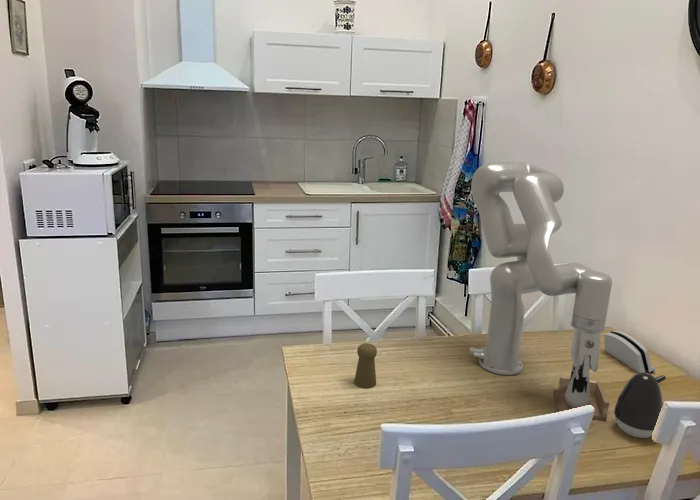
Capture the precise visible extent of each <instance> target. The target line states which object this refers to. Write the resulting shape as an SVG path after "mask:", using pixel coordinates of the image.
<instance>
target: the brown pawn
mask: <svg viewBox="0 0 700 500" xmlns="http://www.w3.org/2000/svg"><path fill="white" fill-rule="evenodd" d="M377 350H378V349H377V347H376V346H375V345H374V344H372V343H367V342H366V343H365V342H364V343H362V344H360V345H359V346H358V347H357V350H356V352H357V356H358V359H357V361H358V362H357V366H356V371H355V375H354V381H353V385H355V386H356V387H358V388H360V389H363V390H364V389H365V390H366V389H373V388H375V387H376V386H377V375H376V363H375V358H376V357H377V355H378V354H377V353H378V351H377Z"/></svg>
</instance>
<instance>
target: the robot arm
mask: <svg viewBox="0 0 700 500" xmlns="http://www.w3.org/2000/svg"><path fill="white" fill-rule="evenodd" d="M471 179H472V180H471V185H470V186H471V188H470V189H471V196H472V199H473V202H474V204H475V206H476V209H477V211H478V214H479V218H480V221H481V227H482V231H483V234H484V238H485V242H486V246H487V249H488V252H489V254H490V255H491V256H492V257H493V258H496V259H508V258H516V259H517V260H513V261H507V262H503V263H500V264H497V265H496V266H495V267H494V268H493V269H492V270H491V273H490V277H489V280H490V281H489V283H490V306H489V307H490V308H489V309H490V310H489V316H488V317H489V319H488V327H487V336H486V342H485V343H486V344H484V346H483V347H480V348H476V347H472V346H470V347H469V354H470V355H473V358H478V364H479V366H480V367H481V368H482V369H484V370H486V371H487V372H490V373H493V374H497V375H502V376H513V375H518V374H520V373H521V372H522V371H523V370H524V365H523V363H522V361H521V360H520V359H519V357H520V349H521V343H522V341H521V340H522V335H523V327H524V321H525V311H526V310H525V306H524V303H523V300H522V295H525V294H530V293H531V294H532V293H536V292H541V293H543V294H544V295H545V296H548V297H549V296H550V297H557V296H563V295H567V294H569V295H571V294H575V297H574V304H573V310H572V314H571V315H572V316H571V322H570V325H571V327H572V328H573V333H572V340H571V345H570V356H571V360H572V367H571V369H572V370H571V372H570V377H569V378H570V380H571V378H572V375H573V373H574V370H575V368H576V376H575V378H574V380H573V386H572V393H574V391H575V389H576V390H577V392H580V393H582V392H583V391H584V387H585V393H586V389H587V383H588V377H589V378H590V370H591V371H593V372H595V373H596V372H597V371H598V368H599V367H598V366H599V359H600V358H599V357H600V348H601V334H602V333H604V331H605V327H606V321H607V315H608V309H609V303H610V298H611V297H610V296H611V292H612V285H613V279H612V277H611V276H610V275H609V274H608V273H605V272H601V271H597V270H593V269H591V268H589V267H587V266H586V265H584V264H582V263H577V262H570V263H562V264H561V263H559V264H555V263H554V261H553V258H552V255H551V254H550V253H551V252H550V247H549V243H550V239H551V237H552V235H553V234H554V233H556V232H557V231H559V230H560V228H561V227H562V225H563V222H562V218H561V215H560V214H559V211H558V209H557V207H556V205H555V203H557V202H558V201H560V200H561V198H562V197H563V196H564V192H565V191H564V190H565V188H564V187H565V186H564V183H563V181H562V179H561V178H560V176H558V175H557V174H555V173H554V172H552V171H550V170H547V169H544V168H541V167H537V166H536V165H533V164H530V163H527V162H521V161H519V162H517V161H515V162H514V161H512V162H510V161H508V162H507V161H506V162H505V161H504V162H503V161H502V162H501V161H500V162H499V161H497V162H496V161H495V162H489V163H485V164H482V165H481V166H479V167H478V168H476V171H475V172H474V173H473V176H472V178H471ZM500 193H512V195H513V197H514V198H515V201H516V204H517V206H518V209H519V211H520V213H521V216H522V218H523V221H524V223H515V222H514V221H513V218H512V215H511V209H510V207H509V205H508V204H507V203H506V201H505V200H504V198H503V197H502V196H500ZM590 364H591V365H590ZM574 365H575V366H574ZM580 366H583V368H582V367H580ZM590 367H591V369H590ZM589 369H590V370H589ZM579 371H582V372H580V373H579Z"/></svg>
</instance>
